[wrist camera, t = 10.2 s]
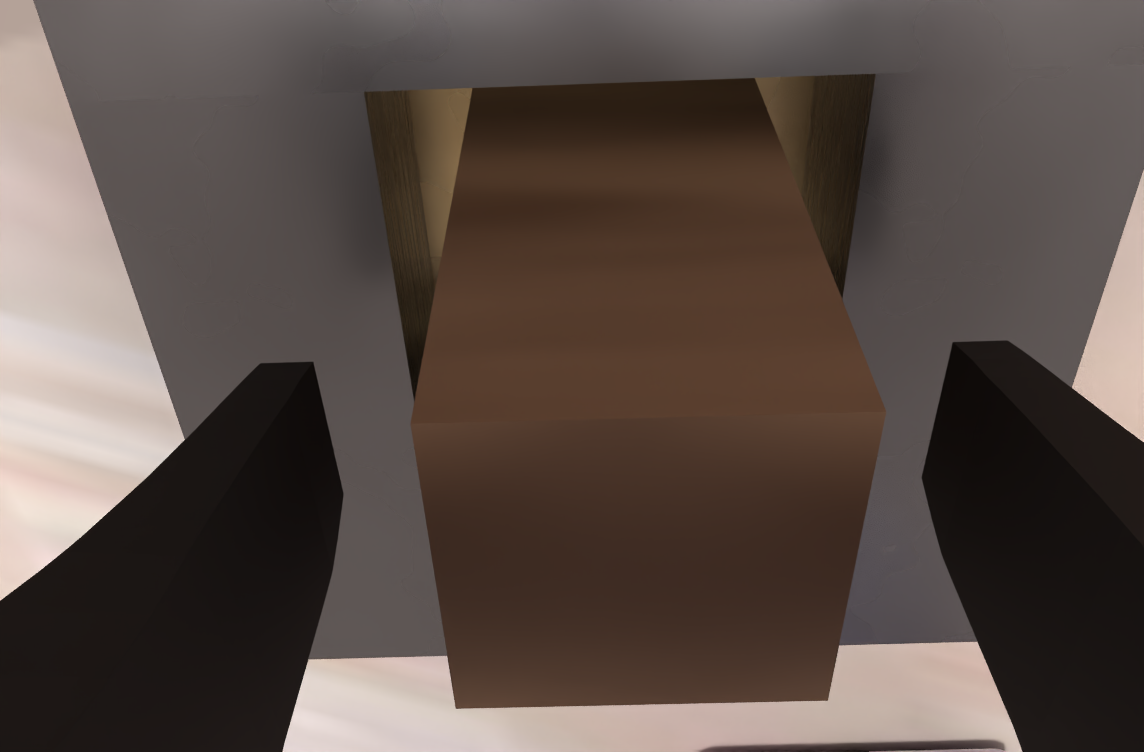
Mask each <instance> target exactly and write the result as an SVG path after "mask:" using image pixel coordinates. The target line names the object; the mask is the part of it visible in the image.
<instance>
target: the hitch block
mask: <svg viewBox="0 0 1144 752" xmlns="http://www.w3.org/2000/svg"><path fill="white" fill-rule="evenodd" d="M33 1H34V3H35V6H36V9H37V12H38V15H39V18H40V21H41V24H42V27H43V30H44V33H45V35H46V38H47V41H48V44H49V47H50V50H51V53H52V56H53V59H54V62H55V64H56V67H57V70H58V73H59V76H60V79H61V82H62V85H63V88H64V91H65V93H66V96H67V99H68V102H69V105H70V108H71V111H72V114H73V117H74V120H75V122H76V125H77V128H78V131H79V134H80V137H81V140H82V143H83V146H84V148H85V151H86V154H87V157H88V160H89V163H90V166H91V169H92V172H93V175H94V177H95V180H96V183H97V186H98V189H99V192H100V195H101V198H102V201H103V204H104V206H105V209H106V212H107V215H108V218H109V221H110V224H111V227H112V230H113V233H114V235H115V238H116V241H117V244H118V247H119V250H120V253H121V256H122V259H123V261H124V264H125V267H126V270H127V273H128V276H129V279H130V282H131V285H132V288H133V290H134V293H135V296H136V299H137V302H138V305H139V308H140V311H141V314H142V317H143V319H144V322H145V325H146V328H147V331H148V334H149V337H150V340H151V343H152V346H153V348H154V351H155V354H156V357H157V360H158V363H159V366H160V369H161V372H162V374H163V377H164V380H165V383H166V386H167V389H168V392H169V395H170V398H171V401H172V403H173V406H174V409H175V412H176V415H177V418H178V421H179V424H180V427H181V430H182V432H183V435H184V438H185V439H186V438H187V437H188V436H189V435H190V434H191V433H192V432H193V431H194V430H195V429H196V428H197V427H198V426H199V425H200V424H201V423H202V422H203V421H204V420H205V419H206V418H207V417H208V416H209V415H210V414H211V413H212V412H213V411H214V410H215V409H216V407H217V406H218V405H219V404H220V403H221V402H222V401H223V400H224V399H225V398H226V397H227V396H228V395H229V394H230V393H231V392H232V391H233V390H234V389H235V388H236V387H237V386H238V385H239V384H240V383H241V382H242V381H243V380H244V379H245V378H246V377H247V376H248V375H249V374H250V373H251V372H252V371H253V370H254V369H255V368H256V367H257V366H258V365H259V364H260V363H283V362H314V367H315V371H316V376H317V380H318V384H319V389H320V393H321V397H322V402H323V406H324V410H325V415H326V419H327V423H328V428H329V432H330V436H331V441H332V445H333V449H334V454H335V458H336V462H337V467H338V471H339V475H340V480H341V484H342V489H343V493H344V496H343V504H342V511H341V519H340V526H339V534H338V541H337V547H336V554H335V560H334V566H333V572H332V576H331V580H330V583H329V587H328V591H327V595H326V598H325V602H324V605H323V609H322V613H321V616H320V620H319V623H318V627H317V631H316V634H315V638H314V641H313V645H312V648H311V652H310V655H309V659H341V658H378V657H416V656H447V650H446V644H445V638H444V632H443V625H442V619H441V613H440V606H439V600H438V594H437V588H436V581H435V575H434V569H433V563H432V556H431V550H430V544H429V538H428V531H427V525H426V519H425V513H424V506H423V500H422V494H421V487H420V481H419V475H418V469H417V462H416V456H415V450H414V444H413V437H412V431H411V425H410V423H411V418H412V412H413V407H414V401H415V396H416V391H417V385H418V380H419V374H420V369H421V364H422V358H423V353H424V347H425V342H426V337H427V331H428V326H429V320H430V315H431V310H432V304H433V299H434V293H435V288H436V283H437V277H438V272H439V266H440V261H441V256H442V250H443V245H444V240H445V234H446V229H447V223H448V218H449V213H450V207H451V202H452V196H453V191H454V186H455V180H456V175H457V169H458V164H459V159H460V153H461V148H462V142H463V137H464V132H465V126H466V121H467V115H468V110H469V105H470V99H471V94H472V88H484V87H512V86H540V85H569V84H597V83H625V82H653V81H682V80H710V79H738V78H755V80H756V82H757V85H758V88H759V90H760V93H761V95H762V98H763V100H764V103H765V105H766V108H767V110H768V113H769V115H770V118H771V120H772V123H773V126H774V128H775V131H776V133H777V136H778V138H779V141H780V143H781V146H782V148H783V151H784V153H785V156H786V159H787V161H788V164H789V166H790V169H791V171H792V174H793V176H794V179H795V181H796V184H797V186H798V189H799V191H800V194H801V197H802V199H803V202H804V204H805V207H806V209H807V212H808V214H809V217H810V219H811V222H812V224H813V227H814V230H815V232H816V235H817V237H818V240H819V242H820V245H821V247H822V250H823V252H824V255H825V257H826V260H827V262H828V265H829V268H830V270H831V273H832V275H833V278H834V280H835V283H836V285H837V288H838V290H839V293H840V295H841V298H842V301H843V303H844V306H845V308H846V311H847V313H848V316H849V318H850V321H851V323H852V326H853V328H854V331H855V333H856V336H857V339H858V341H859V344H860V346H861V349H862V351H863V354H864V356H865V359H866V361H867V364H868V366H869V369H870V372H871V374H872V377H873V379H874V382H875V384H876V387H877V389H878V392H879V394H880V397H881V399H882V402H883V404H884V407H885V410H886V416H885V421H884V426H883V431H882V436H881V441H880V446H879V451H878V456H877V461H876V465H875V470H874V475H873V480H872V485H871V490H870V495H869V500H868V505H867V510H866V515H865V520H864V525H863V529H862V534H861V539H860V544H859V549H858V554H857V559H856V564H855V569H854V574H853V579H852V584H851V589H850V593H849V598H848V603H847V608H846V613H845V618H844V623H843V628H842V633H841V638H840V643H839V645H866V644H904V643H941V642H977V639H976V637H975V635H974V632H973V630H972V627H971V625H970V623H969V620H968V618H967V616H966V613H965V611H964V608H963V606H962V604H961V601H960V599H959V596H958V594H957V591H956V589H955V587H954V584H953V582H952V579H951V577H950V575H949V572H948V570H947V567H946V565H945V562H944V560H943V557H942V554H941V551H940V547H939V544H938V540H937V536H936V533H935V529H934V526H933V522H932V518H931V514H930V510H929V506H928V502H927V498H926V494H925V490H924V486H923V482H922V478H921V477H922V473H923V469H924V464H925V460H926V456H927V451H928V447H929V443H930V438H931V434H932V430H933V425H934V421H935V417H936V412H937V408H938V404H939V399H940V395H941V391H942V386H943V382H944V378H945V373H946V369H947V365H948V360H949V356H950V352H951V347H952V343H953V342H970V341H1002V340H1008V341H1009V342H1011V343H1012V344H1014V345H1015V346H1017V347H1018V348H1020V349H1021V350H1022V351H1024V352H1025V353H1027V354H1028V355H1029V356H1031V357H1032V358H1033V359H1035V360H1036V361H1037V362H1039V363H1040V364H1041V365H1043V366H1044V367H1045V368H1047V369H1048V370H1049V371H1050V372H1052V373H1053V374H1054V375H1056V376H1057V377H1058V378H1060V379H1061V380H1062V381H1063V382H1065V383H1066V384H1067V385H1069V386H1070V387H1071V388H1072V385H1073V382H1074V379H1075V376H1076V373H1077V370H1078V367H1079V364H1080V361H1081V358H1082V355H1083V352H1084V349H1085V346H1086V343H1087V340H1088V337H1089V333H1090V330H1091V327H1092V324H1093V321H1094V318H1095V315H1096V312H1097V309H1098V306H1099V303H1100V300H1101V297H1102V294H1103V291H1104V288H1105V285H1106V282H1107V279H1108V276H1109V273H1110V270H1111V267H1112V264H1113V261H1114V258H1115V255H1116V251H1117V248H1118V245H1119V242H1120V239H1121V236H1122V233H1123V230H1124V227H1125V224H1126V221H1127V218H1128V215H1129V212H1130V209H1131V206H1132V203H1133V200H1134V197H1135V194H1136V191H1137V188H1138V185H1139V182H1140V179H1141V176H1142V173H1143V169H1144V0H33Z"/></svg>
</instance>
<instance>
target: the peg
mask: <svg viewBox="0 0 1144 752" xmlns="http://www.w3.org/2000/svg"><path fill="white" fill-rule="evenodd" d="M885 416H886V410H885V407H884V404H883V402H882V399H881V397H880V394H879V392H878V389H877V387H876V384H875V382H874V379H873V377H872V374H871V372H870V369H869V366H868V364H867V361H866V359H865V356H864V354H863V351H862V349H861V346H860V344H859V341H858V339H857V336H856V333H855V331H854V328H853V326H852V323H851V321H850V318H849V316H848V313H847V311H846V308H845V306H844V303H843V301H842V298H841V295H840V293H839V290H838V288H837V285H836V283H835V280H834V278H833V275H832V273H831V270H830V268H829V265H828V262H827V260H826V257H825V255H824V252H823V250H822V247H821V245H820V242H819V240H818V237H817V235H816V232H815V230H814V227H813V224H812V222H811V219H810V217H809V214H808V212H807V209H806V207H805V204H804V202H803V199H802V197H801V194H800V191H799V189H798V186H797V184H796V181H795V179H794V176H793V174H792V171H791V169H790V166H789V164H788V161H787V159H786V156H785V153H784V151H783V148H782V146H781V143H780V141H779V138H778V136H777V133H776V131H775V128H774V126H773V123H772V120H771V118H770V115H769V113H768V110H767V108H766V105H765V103H764V100H763V98H762V95H761V93H760V90H759V88H758V85H757V82H756V80H755V78H738V79H710V80H682V81H653V82H625V83H597V84H569V85H540V86H512V87H484V88H472V94H471V99H470V105H469V110H468V115H467V121H466V126H465V132H464V137H463V142H462V148H461V153H460V159H459V164H458V169H457V175H456V180H455V186H454V191H453V196H452V202H451V207H450V213H449V218H448V223H447V229H446V234H445V240H444V245H443V250H442V256H441V261H440V266H439V272H438V277H437V283H436V288H435V293H434V299H433V304H432V310H431V315H430V320H429V326H428V331H427V337H426V342H425V347H424V353H423V358H422V364H421V369H420V374H419V380H418V385H417V391H416V396H415V401H414V407H413V412H412V418H411V423H410V425H411V431H412V437H413V444H414V450H415V456H416V462H417V469H418V475H419V481H420V487H421V494H422V500H423V506H424V513H425V519H426V525H427V531H428V538H429V544H430V550H431V556H432V563H433V569H434V575H435V581H436V588H437V594H438V600H439V606H440V613H441V619H442V625H443V632H444V638H445V644H446V650H447V657H448V663H449V669H450V675H451V682H452V688H453V694H454V700H455V707H456V709H461V708H507V707H553V706H599V705H645V704H690V703H736V702H782V701H828V697H829V692H830V687H831V682H832V677H833V672H834V667H835V662H836V657H837V652H838V648H839V643H840V638H841V633H842V628H843V623H844V618H845V613H846V608H847V603H848V598H849V593H850V589H851V584H852V579H853V574H854V569H855V564H856V559H857V554H858V549H859V544H860V539H861V534H862V529H863V525H864V520H865V515H866V510H867V505H868V500H869V495H870V490H871V485H872V480H873V475H874V470H875V465H876V461H877V456H878V451H879V446H880V441H881V436H882V431H883V426H884V421H885Z"/></svg>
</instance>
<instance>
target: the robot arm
mask: <svg viewBox="0 0 1144 752" xmlns="http://www.w3.org/2000/svg"><path fill="white" fill-rule="evenodd" d="M921 478H922V482H923V486H924V490H925V494H926V498H927V502H928V506H929V510H930V514H931V518H932V522H933V526H934V529H935V533H936V536H937V540H938V544H939V547H940V551H941V554H942V557H943V560H944V562H945V565H946V567H947V570H948V572H949V575H950V577H951V579H952V582H953V584H954V587H955V589H956V591H957V594H958V596H959V599H960V601H961V604H962V606H963V608H964V611H965V613H966V616H967V618H968V620H969V623H970V625H971V627H972V630H973V632H974V635H975V637H976V639H977V642H978V644H979V646H980V649H981V651H982V653H983V656H984V658H985V660H986V663H987V665H988V668H989V670H990V672H991V675H992V677H993V679H994V682H995V684H996V686H997V689H998V691H999V694H1000V696H1001V698H1002V701H1003V703H1004V705H1005V708H1006V710H1007V712H1008V715H1009V717H1010V720H1011V722H1012V724H1013V727H1014V729H1015V732H1016V735H1017V738H1018V740H1019V743H1020V746H1021V748H1022V751H1023V752H1144V442H1142V441H1141V440H1140V439H1138V438H1137V437H1135V436H1134V435H1133V434H1131V433H1130V432H1129V431H1127V430H1126V429H1125V428H1123V427H1122V426H1121V425H1119V424H1118V423H1117V422H1115V421H1114V420H1113V419H1112V418H1110V417H1109V416H1108V415H1106V414H1105V413H1104V412H1102V411H1101V410H1100V409H1098V408H1097V407H1096V406H1095V405H1093V404H1092V403H1091V402H1089V401H1088V400H1087V399H1085V398H1084V397H1083V396H1082V395H1080V394H1079V393H1078V392H1076V391H1075V390H1074V389H1072V388H1071V387H1070V386H1069V385H1067V384H1066V383H1065V382H1063V381H1062V380H1061V379H1060V378H1058V377H1057V376H1056V375H1054V374H1053V373H1052V372H1050V371H1049V370H1048V369H1047V368H1045V367H1044V366H1043V365H1041V364H1040V363H1039V362H1037V361H1036V360H1035V359H1033V358H1032V357H1031V356H1029V355H1028V354H1027V353H1025V352H1024V351H1022V350H1021V349H1020V348H1018V347H1017V346H1015V345H1014V344H1012V343H1011V342H1009V341H1008V340H1002V341H970V342H953V343H952V347H951V352H950V356H949V360H948V365H947V369H946V373H945V378H944V382H943V386H942V391H941V395H940V399H939V404H938V408H937V412H936V417H935V421H934V425H933V430H932V434H931V438H930V443H929V447H928V451H927V456H926V460H925V464H924V469H923V473H922V477H921ZM343 496H344V493H343V489H342V484H341V480H340V475H339V471H338V467H337V462H336V458H335V454H334V449H333V445H332V441H331V436H330V432H329V428H328V423H327V419H326V415H325V410H324V406H323V402H322V397H321V393H320V389H319V384H318V380H317V376H316V371H315V367H314V362H283V363H260V364H259V365H258V366H257V367H256V368H255V369H254V370H253V371H252V372H251V373H250V374H249V375H248V376H247V377H246V378H245V379H244V380H243V381H242V382H241V383H240V384H239V385H238V386H237V387H236V388H235V389H234V390H233V391H232V392H231V393H230V394H229V395H228V396H227V397H226V398H225V399H224V400H223V401H222V402H221V403H220V404H219V405H218V406H217V407H216V409H215V410H214V411H213V412H212V413H211V414H210V415H209V416H208V417H207V418H206V419H205V420H204V421H203V422H202V423H201V424H200V425H199V426H198V427H197V428H196V429H195V430H194V431H193V432H192V433H191V434H190V435H189V436H188V437H187V438H186V439H185V440H184V441H183V442H182V443H181V444H180V445H179V446H178V447H177V448H176V449H175V450H174V451H173V452H172V453H171V454H170V455H169V456H168V457H167V458H166V459H165V460H164V461H163V462H162V463H161V464H160V465H159V466H158V467H157V468H156V469H155V470H154V471H153V472H152V473H151V474H150V475H149V476H148V477H147V478H146V479H145V480H144V481H143V482H142V483H141V484H139V485H138V486H137V487H136V488H135V489H134V490H133V491H132V492H131V493H129V494H128V495H127V496H126V497H125V498H124V499H123V500H122V501H121V502H119V503H118V504H117V505H116V506H115V507H114V508H113V509H112V510H111V511H110V512H108V513H107V514H106V515H105V516H104V517H103V518H102V519H101V520H100V521H98V522H97V523H96V524H95V525H94V526H93V527H92V528H91V529H90V530H88V531H87V532H86V533H85V534H84V535H83V536H82V537H81V538H79V539H78V540H77V541H76V542H75V543H74V544H72V545H71V546H70V547H69V548H68V549H66V550H65V551H64V552H63V553H61V554H60V555H59V556H58V557H57V558H55V559H54V560H53V561H52V562H50V563H49V564H48V565H47V566H45V567H44V568H43V569H42V570H40V571H39V572H38V573H36V574H35V575H34V576H32V577H31V578H30V579H28V580H27V581H26V582H24V583H23V584H22V585H21V586H19V587H18V588H17V589H15V590H14V591H13V592H11V593H10V594H9V595H7V596H6V597H5V598H3V599H2V600H1V601H0V752H282V751H283V747H284V742H285V739H286V735H287V732H288V728H289V725H290V721H291V718H292V714H293V711H294V707H295V704H296V700H297V697H298V693H299V690H300V686H301V683H302V679H303V676H304V672H305V669H306V665H307V662H308V659H309V655H310V652H311V648H312V645H313V641H314V638H315V634H316V631H317V627H318V623H319V620H320V616H321V613H322V609H323V605H324V602H325V598H326V595H327V591H328V587H329V583H330V580H331V576H332V572H333V566H334V560H335V554H336V547H337V541H338V534H339V526H340V519H341V511H342V504H343ZM871 752H1006V751H1004V750H1001V749H994V748H991V749H951V750H911V751H871Z"/></svg>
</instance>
